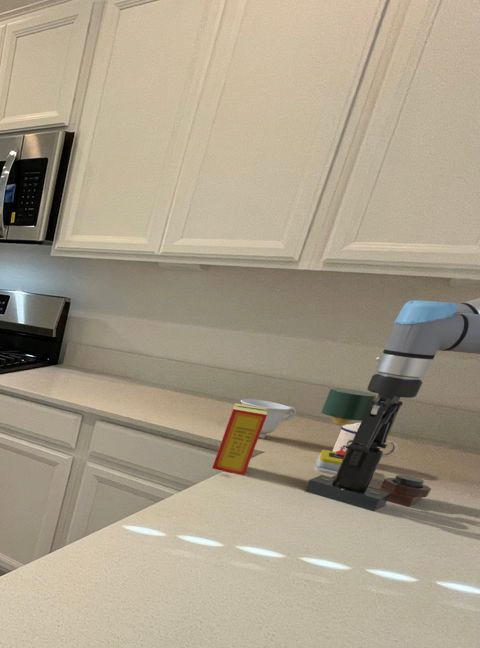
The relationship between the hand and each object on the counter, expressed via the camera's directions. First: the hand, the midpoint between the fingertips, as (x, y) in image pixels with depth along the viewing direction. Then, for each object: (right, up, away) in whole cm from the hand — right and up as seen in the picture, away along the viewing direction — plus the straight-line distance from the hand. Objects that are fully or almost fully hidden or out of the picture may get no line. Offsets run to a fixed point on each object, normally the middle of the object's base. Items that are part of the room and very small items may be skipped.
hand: (353, 475), depth 132 cm
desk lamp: (+8, +2, +12) cm, 15 cm away
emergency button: (+18, +1, +22) cm, 29 cm away
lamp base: (+12, -4, +7) cm, 14 cm away
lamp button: (+14, -2, +2) cm, 15 cm away
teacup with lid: (+31, +3, +30) cm, 43 cm away
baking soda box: (-14, +1, +18) cm, 23 cm away
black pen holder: (0, -2, +1) cm, 3 cm away
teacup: (+21, +11, +50) cm, 56 cm away
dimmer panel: (0, -5, +2) cm, 6 cm away
